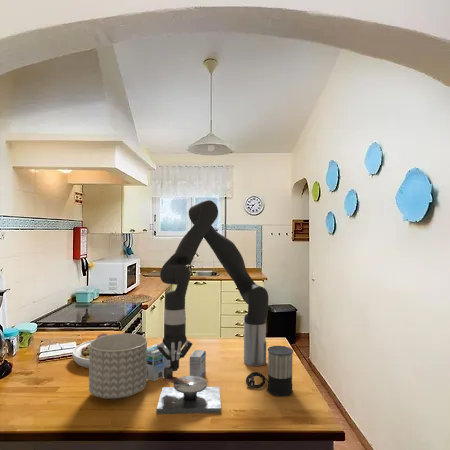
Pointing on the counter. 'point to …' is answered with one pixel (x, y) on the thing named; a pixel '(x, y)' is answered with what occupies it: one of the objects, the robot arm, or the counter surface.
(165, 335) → the robot arm
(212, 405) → the base
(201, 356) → the medicine box
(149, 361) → the light bulb box
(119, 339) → the planter
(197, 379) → the handwheel
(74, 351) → the bowl
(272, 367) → the milk frother
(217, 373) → the counter surface
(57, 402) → the counter surface
